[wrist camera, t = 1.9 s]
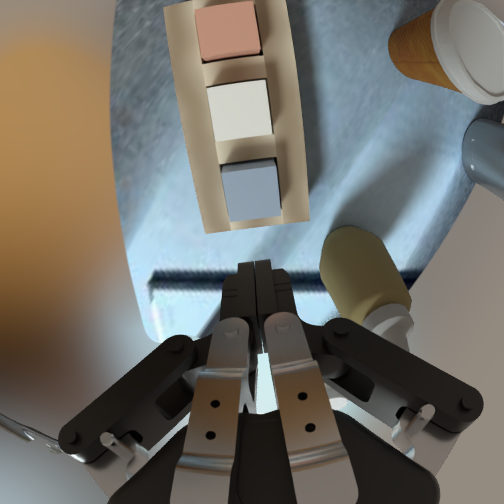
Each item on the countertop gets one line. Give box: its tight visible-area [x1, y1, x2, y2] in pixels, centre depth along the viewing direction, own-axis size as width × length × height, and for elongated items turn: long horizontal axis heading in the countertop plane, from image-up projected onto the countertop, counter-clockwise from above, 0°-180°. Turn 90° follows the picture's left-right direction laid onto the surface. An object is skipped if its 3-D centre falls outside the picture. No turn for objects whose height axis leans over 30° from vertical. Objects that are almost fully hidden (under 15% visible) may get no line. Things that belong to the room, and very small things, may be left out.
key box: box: [163, 0, 310, 234], centre depth 23 cm, size 10×22×4 cm, turn 8°
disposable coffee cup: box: [388, 0, 504, 105], centre depth 15 cm, size 10×10×12 cm
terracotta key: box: [194, 1, 261, 62], centre depth 17 cm, size 4×4×3 cm
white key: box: [206, 80, 272, 142], centre depth 21 cm, size 4×4×3 cm
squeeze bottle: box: [319, 226, 414, 353], centre depth 25 cm, size 8×8×18 cm
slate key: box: [221, 157, 281, 222], centre depth 24 cm, size 4×4×3 cm
